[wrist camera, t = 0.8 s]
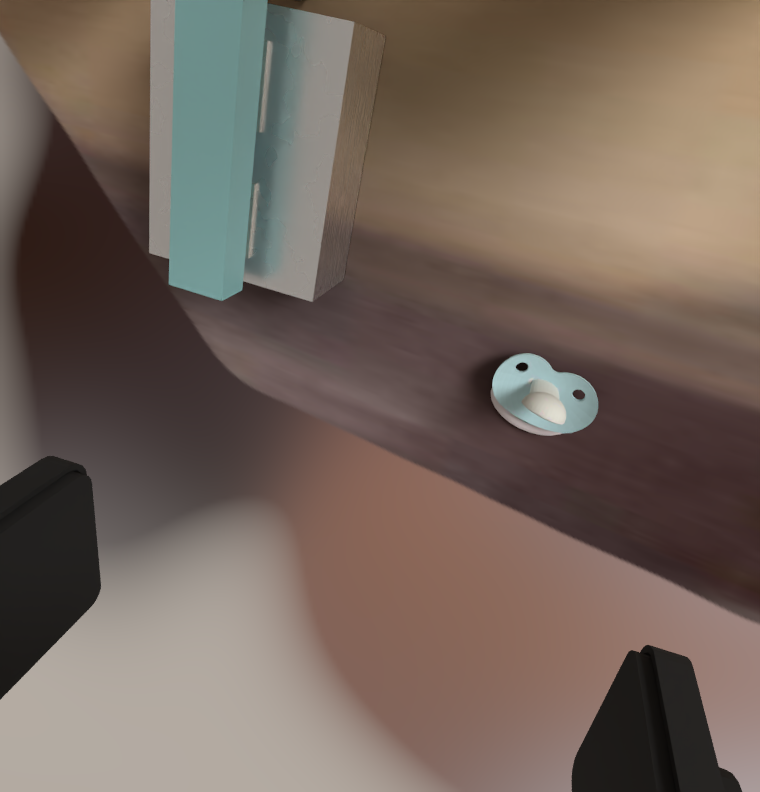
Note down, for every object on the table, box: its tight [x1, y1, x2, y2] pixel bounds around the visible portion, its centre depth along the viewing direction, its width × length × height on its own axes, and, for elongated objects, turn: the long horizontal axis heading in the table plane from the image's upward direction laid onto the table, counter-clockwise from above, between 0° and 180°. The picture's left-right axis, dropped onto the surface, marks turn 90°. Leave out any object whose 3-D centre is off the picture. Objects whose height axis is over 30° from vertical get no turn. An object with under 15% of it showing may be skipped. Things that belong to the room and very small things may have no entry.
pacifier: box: [491, 353, 598, 436], centre depth 39 cm, size 7×6×6 cm
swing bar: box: [169, 0, 300, 301], centre depth 34 cm, size 19×4×11 cm, turn 168°
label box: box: [149, 0, 386, 302], centre depth 37 cm, size 16×12×6 cm
